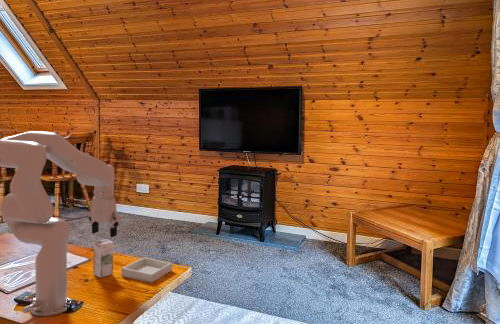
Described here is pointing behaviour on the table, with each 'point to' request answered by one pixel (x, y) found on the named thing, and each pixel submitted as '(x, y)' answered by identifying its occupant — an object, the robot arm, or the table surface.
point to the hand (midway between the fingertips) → (104, 234)
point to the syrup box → (103, 258)
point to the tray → (146, 269)
